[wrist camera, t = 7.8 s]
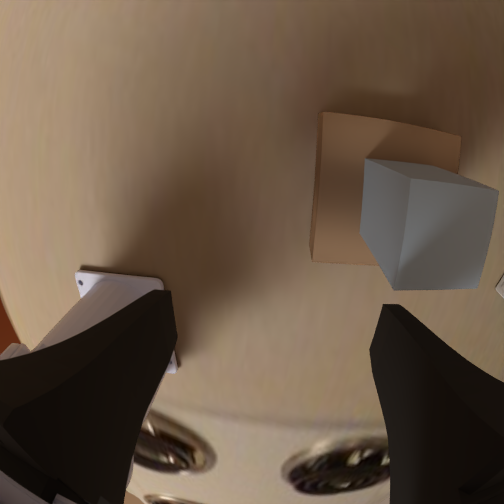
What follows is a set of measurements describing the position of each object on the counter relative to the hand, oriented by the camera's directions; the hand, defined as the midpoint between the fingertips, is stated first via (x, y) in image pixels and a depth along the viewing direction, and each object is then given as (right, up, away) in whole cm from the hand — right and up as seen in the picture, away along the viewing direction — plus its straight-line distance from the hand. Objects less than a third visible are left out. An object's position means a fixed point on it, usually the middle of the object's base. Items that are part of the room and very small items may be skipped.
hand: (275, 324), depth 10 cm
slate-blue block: (+7, +5, +5) cm, 10 cm away
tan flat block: (+7, +6, +7) cm, 12 cm away
